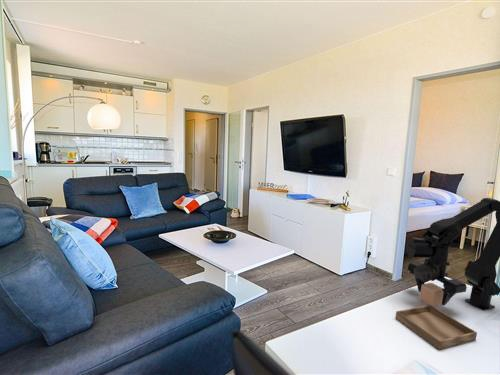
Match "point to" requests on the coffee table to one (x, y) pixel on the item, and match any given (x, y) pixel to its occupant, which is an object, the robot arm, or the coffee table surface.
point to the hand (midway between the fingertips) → (431, 298)
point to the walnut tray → (435, 327)
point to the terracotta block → (431, 294)
